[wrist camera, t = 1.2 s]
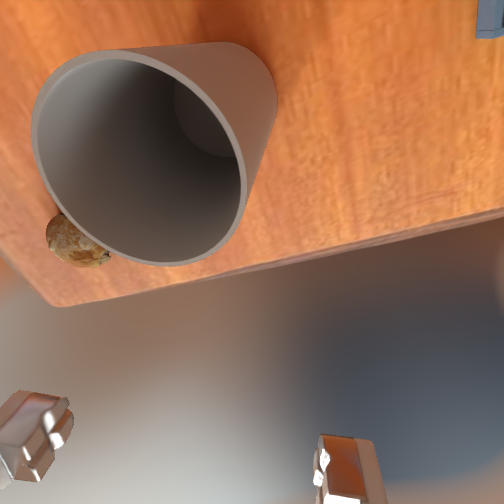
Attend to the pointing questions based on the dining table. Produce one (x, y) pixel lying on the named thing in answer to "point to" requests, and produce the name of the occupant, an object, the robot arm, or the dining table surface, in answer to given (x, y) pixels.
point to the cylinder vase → (155, 145)
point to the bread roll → (74, 244)
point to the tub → (490, 19)
